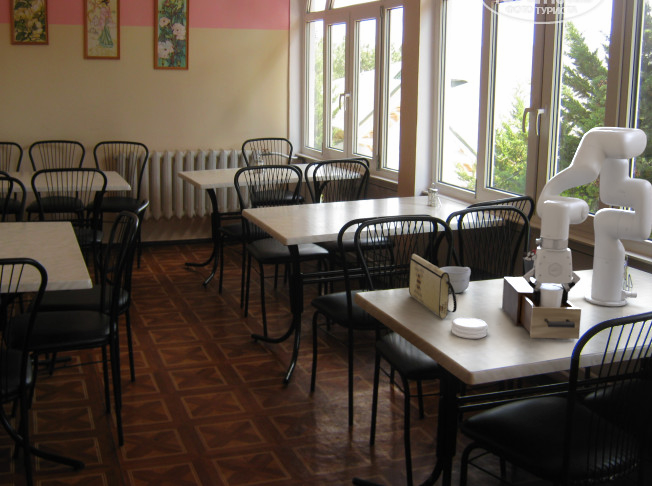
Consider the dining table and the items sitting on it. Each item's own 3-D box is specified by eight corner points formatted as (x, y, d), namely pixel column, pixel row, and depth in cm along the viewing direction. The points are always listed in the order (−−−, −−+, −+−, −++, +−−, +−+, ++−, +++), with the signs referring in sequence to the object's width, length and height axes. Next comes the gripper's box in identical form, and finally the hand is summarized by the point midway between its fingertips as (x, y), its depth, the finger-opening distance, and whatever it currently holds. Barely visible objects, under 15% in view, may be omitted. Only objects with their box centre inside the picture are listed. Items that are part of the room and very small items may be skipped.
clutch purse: (462, 319, 227) (464, 272, 224) (441, 321, 225) (443, 273, 223) (424, 293, 255) (426, 251, 253) (405, 294, 254) (407, 252, 251)
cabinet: (565, 327, 221) (568, 293, 219) (516, 326, 221) (518, 291, 220) (547, 309, 238) (549, 278, 236) (501, 308, 239) (503, 277, 237)
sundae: (542, 288, 264) (545, 247, 261) (523, 288, 264) (526, 247, 261) (536, 283, 270) (539, 243, 268) (518, 283, 270) (520, 243, 268)
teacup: (451, 296, 252) (452, 273, 251) (431, 288, 262) (432, 266, 260) (482, 291, 259) (483, 269, 257) (461, 284, 268) (462, 263, 267)
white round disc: (493, 337, 211) (494, 326, 210) (462, 340, 208) (463, 328, 207) (475, 326, 220) (475, 315, 219) (445, 329, 217) (445, 318, 217)
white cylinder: (558, 307, 217) (559, 284, 216) (564, 314, 210) (566, 290, 209) (534, 306, 218) (535, 283, 217) (539, 313, 211) (541, 290, 210)
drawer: (585, 345, 203) (587, 314, 201) (536, 343, 203) (538, 313, 202) (560, 320, 224) (562, 292, 223) (515, 319, 225) (517, 291, 223)
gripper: (526, 246, 207) (522, 307, 210) (589, 246, 207) (584, 308, 210) (519, 240, 215) (516, 299, 218) (580, 241, 214) (575, 300, 217)
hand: (549, 303), depth 214 cm, fingers closed on white cylinder, 6 cm apart
